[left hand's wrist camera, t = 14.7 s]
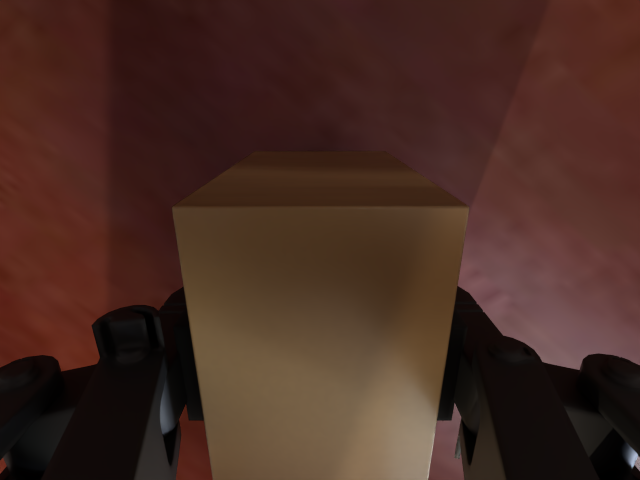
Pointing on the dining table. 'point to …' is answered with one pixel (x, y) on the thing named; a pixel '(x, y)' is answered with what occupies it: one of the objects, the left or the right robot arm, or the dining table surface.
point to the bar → (320, 313)
